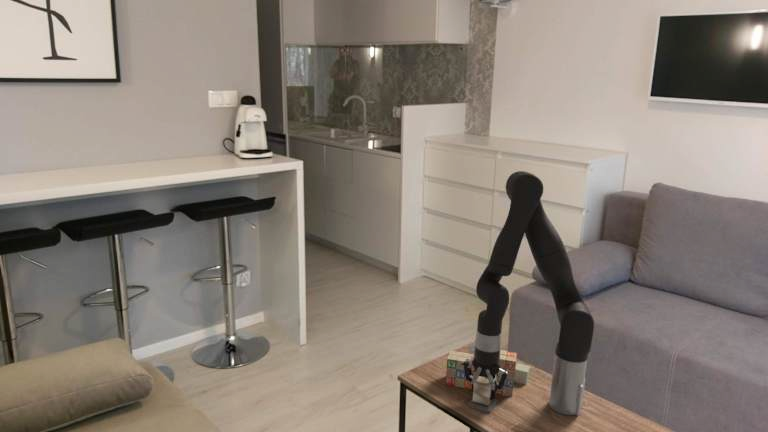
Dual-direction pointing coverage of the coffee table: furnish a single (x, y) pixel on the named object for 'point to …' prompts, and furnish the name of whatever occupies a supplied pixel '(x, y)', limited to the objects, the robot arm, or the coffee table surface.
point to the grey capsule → (471, 350)
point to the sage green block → (522, 373)
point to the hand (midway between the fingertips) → (483, 396)
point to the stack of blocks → (457, 373)
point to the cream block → (482, 391)
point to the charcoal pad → (482, 405)
